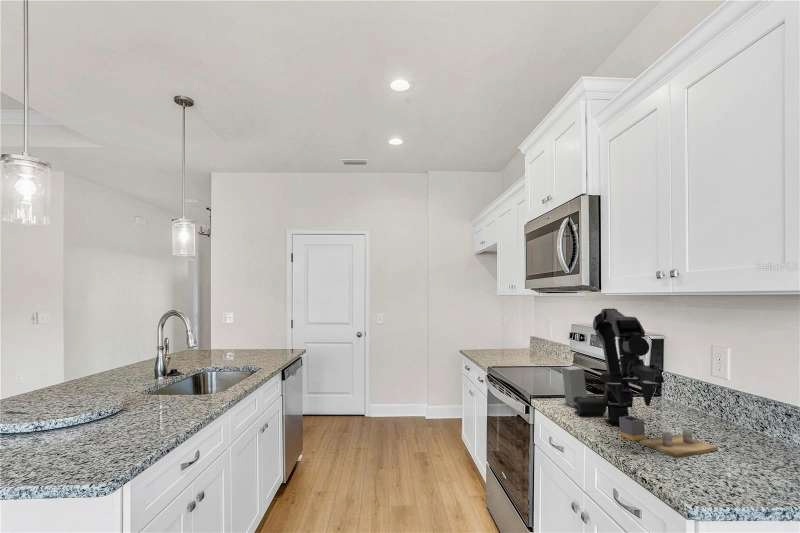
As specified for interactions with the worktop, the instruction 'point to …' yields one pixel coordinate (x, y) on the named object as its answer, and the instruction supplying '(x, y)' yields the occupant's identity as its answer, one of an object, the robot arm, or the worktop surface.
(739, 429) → the worktop surface
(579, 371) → the skincare box
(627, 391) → the robot arm
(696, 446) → the pin board
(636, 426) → the sleeve
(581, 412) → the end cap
